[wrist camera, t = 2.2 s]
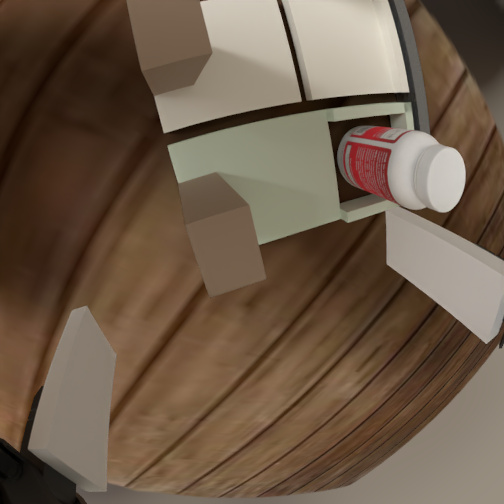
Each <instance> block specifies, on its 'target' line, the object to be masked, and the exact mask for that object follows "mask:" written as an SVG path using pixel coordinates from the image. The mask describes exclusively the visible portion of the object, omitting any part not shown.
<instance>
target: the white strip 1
mask: <svg viewBox="0 0 504 504" xmlns="http://www.w3.org/2000/svg"><path fill="white" fill-rule="evenodd" d="M127 6H128V11H129V16H130V21H131V26H132V31H133V36H134V40H135V45H136V49H137V54H138V58H139V63H140V67H141V71H142V73H143V75H144V77H145V79H146V81H147V83H148V85H149V87H150V89H151V91H152V93H153V95H154V98H155V102H156V106H157V109H158V113H159V117H160V121H161V125H162V128H163V132H164V133H167V132H170V131H173V130H177V129H180V128H184V127H187V126H191V125H194V124H198V123H201V122H205V121H209V120H213V119H217V118H221V117H225V116H229V115H233V114H238V113H242V112H247V111H252V110H256V109H261V108H267V107H272V106H277V105H283V104H289V103H295V102H301V101H302V100H301V95H300V90H299V86H298V81H297V77H296V72H295V68H294V64H293V60H292V56H291V51H290V47H289V44H288V40H287V36H286V32H285V28H284V24H283V21H282V17H281V14H280V10H279V7H278V3H277V0H208V1H202V2H200V0H127Z"/></svg>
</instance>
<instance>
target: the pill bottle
mask: <svg viewBox="0 0 504 504" xmlns="http://www.w3.org/2000/svg"><path fill="white" fill-rule="evenodd" d="M337 163H338V167H339V170H340V172H341V174H342V176H343V177H344V179H345V180H346V181H347V182H348V183H350V184H351V185H353V186H355V187H357V188H360V189H362V190H365V191H367V192H370V193H372V194H374V195H377V196H379V197H382V198H384V199H387V200H389V201H391V202H394V203H396V204H398V205H400V206H403V207H405V208H408V209H412V210H419V209H423V208H426V207H428V208H430V209H433V210H435V211H438V212H448V211H450V210H451V209H453V208H454V207H455V206H456V204H457V203H458V201H459V200H460V198H461V195H462V193H463V190H464V185H465V166H464V162H463V159H462V157H461V155H460V154H459V152H458V151H457V150H455V149H454V148H451V147H447V146H444V145H440V144H439V143H438V142H437V141H436V139H434V138H433V137H432V136H431V135H429V134H427V133H425V132H421V131H415V130H407V129H398V128H389V127H380V126H367V125H362V126H357V127H354V128H352V129H351V130H349V131H348V132H347V133H346V134H345V135H344V137H343V138H342V140H341V142H340V144H339V147H338V152H337Z"/></svg>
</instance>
